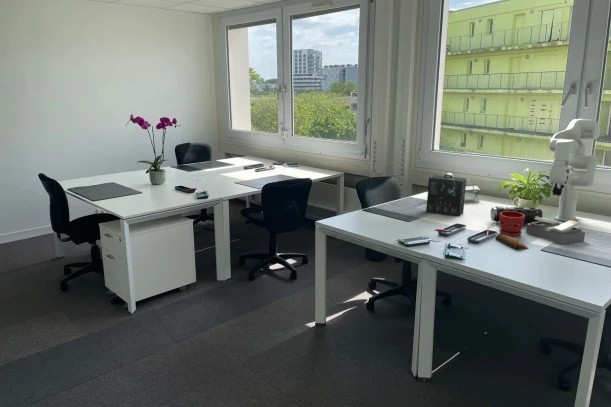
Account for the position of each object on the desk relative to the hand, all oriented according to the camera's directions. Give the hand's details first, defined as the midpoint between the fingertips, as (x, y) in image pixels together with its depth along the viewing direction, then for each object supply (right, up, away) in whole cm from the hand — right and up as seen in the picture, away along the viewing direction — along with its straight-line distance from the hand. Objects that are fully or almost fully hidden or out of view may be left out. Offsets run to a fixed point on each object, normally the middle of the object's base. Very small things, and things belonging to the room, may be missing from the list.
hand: (556, 194), depth 257 cm
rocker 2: (-1, -17, -10) cm, 20 cm away
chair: (-25, -3, +85) cm, 88 cm away
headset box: (-49, -11, +49) cm, 70 cm away
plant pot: (-26, -23, +2) cm, 34 cm away
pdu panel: (-4, -23, -1) cm, 23 cm away
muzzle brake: (-13, -17, +24) cm, 32 cm away
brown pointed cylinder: (-32, -27, -15) cm, 45 cm away
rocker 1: (-6, -15, +1) cm, 16 cm away
